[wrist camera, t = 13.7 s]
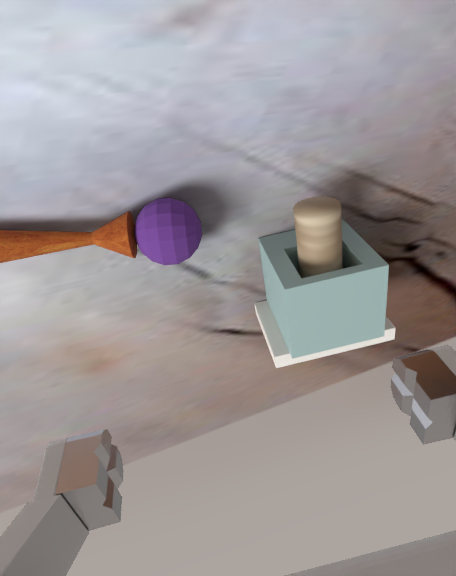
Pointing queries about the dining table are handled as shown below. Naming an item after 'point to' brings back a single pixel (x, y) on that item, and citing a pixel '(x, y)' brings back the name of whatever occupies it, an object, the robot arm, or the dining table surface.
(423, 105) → the dining table surface
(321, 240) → the dowel
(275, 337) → the slab
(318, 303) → the block
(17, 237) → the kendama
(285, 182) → the dining table surface
